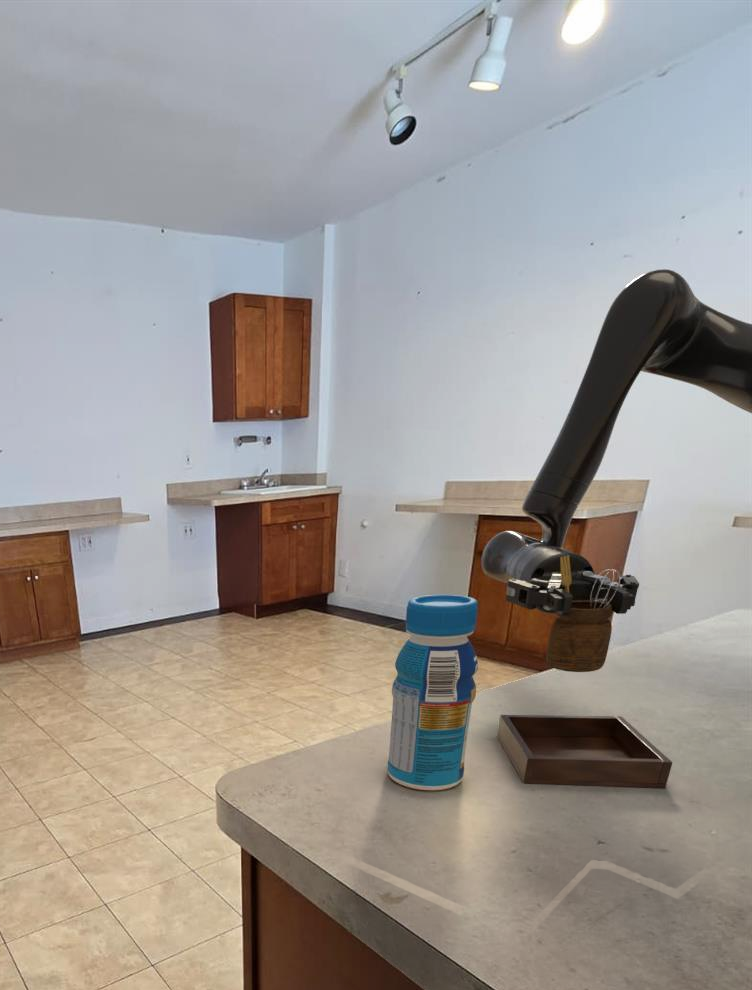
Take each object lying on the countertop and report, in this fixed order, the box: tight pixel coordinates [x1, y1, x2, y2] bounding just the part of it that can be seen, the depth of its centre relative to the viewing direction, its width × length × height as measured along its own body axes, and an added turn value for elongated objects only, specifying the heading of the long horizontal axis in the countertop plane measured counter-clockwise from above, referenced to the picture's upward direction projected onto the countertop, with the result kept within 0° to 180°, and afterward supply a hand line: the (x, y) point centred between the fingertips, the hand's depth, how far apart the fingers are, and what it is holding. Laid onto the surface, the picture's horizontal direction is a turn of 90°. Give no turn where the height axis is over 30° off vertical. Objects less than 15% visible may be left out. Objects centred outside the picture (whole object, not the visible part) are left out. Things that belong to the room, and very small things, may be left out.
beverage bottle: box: [386, 594, 479, 791], centre depth 69 cm, size 8×8×20 cm
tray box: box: [496, 714, 673, 789], centre depth 74 cm, size 14×14×3 cm
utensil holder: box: [545, 555, 621, 673], centre depth 71 cm, size 6×6×12 cm
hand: (595, 604), depth 68 cm, fingers closed on utensil holder, 5 cm apart
